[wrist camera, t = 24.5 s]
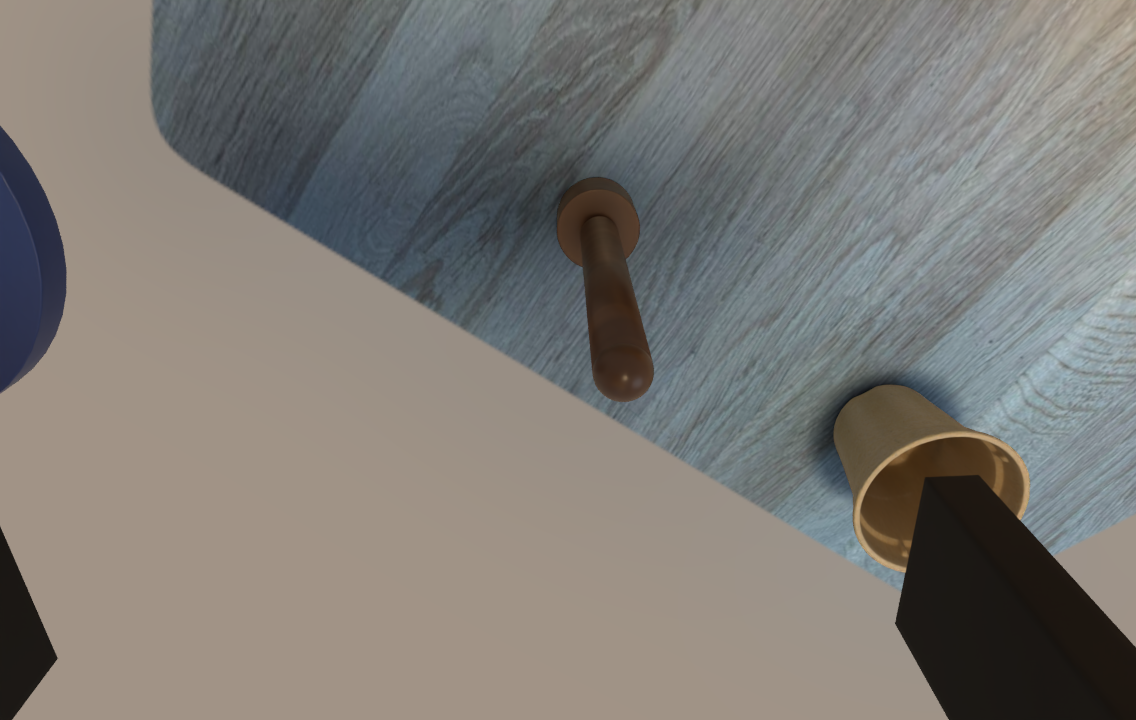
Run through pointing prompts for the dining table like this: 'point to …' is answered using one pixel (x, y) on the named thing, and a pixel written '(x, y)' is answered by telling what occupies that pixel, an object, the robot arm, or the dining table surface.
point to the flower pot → (913, 465)
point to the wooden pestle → (607, 283)
